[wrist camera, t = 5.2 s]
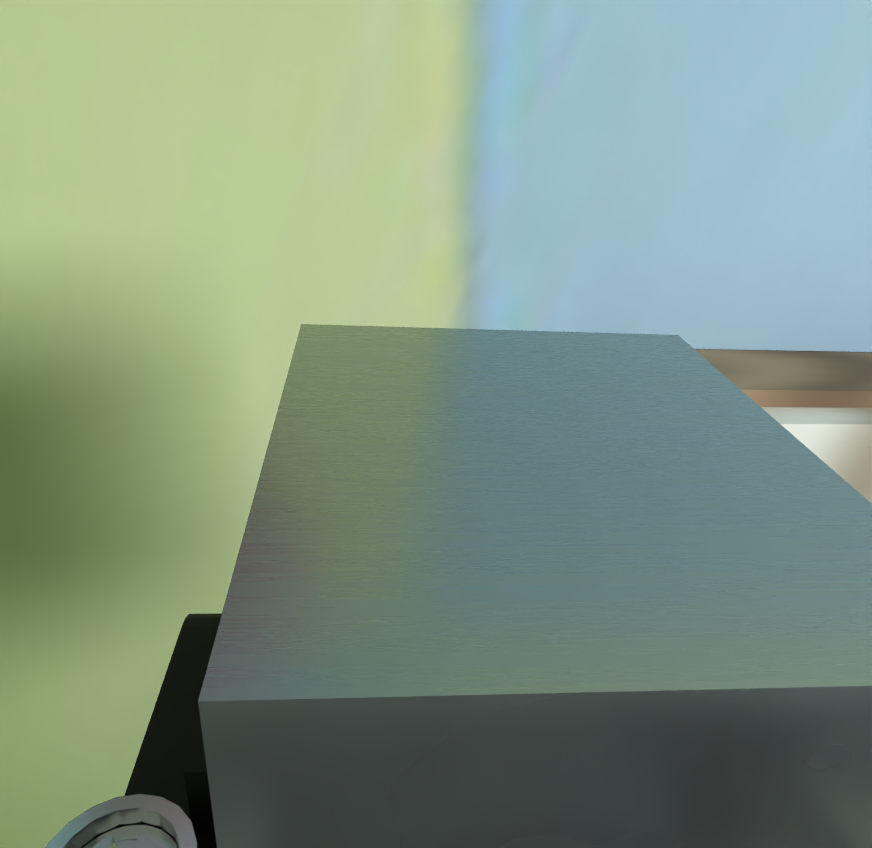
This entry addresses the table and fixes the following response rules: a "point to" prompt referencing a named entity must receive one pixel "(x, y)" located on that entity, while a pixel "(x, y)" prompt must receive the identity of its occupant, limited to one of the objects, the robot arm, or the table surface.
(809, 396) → the stand
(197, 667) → the robot arm
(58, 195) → the table surface
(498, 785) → the block
